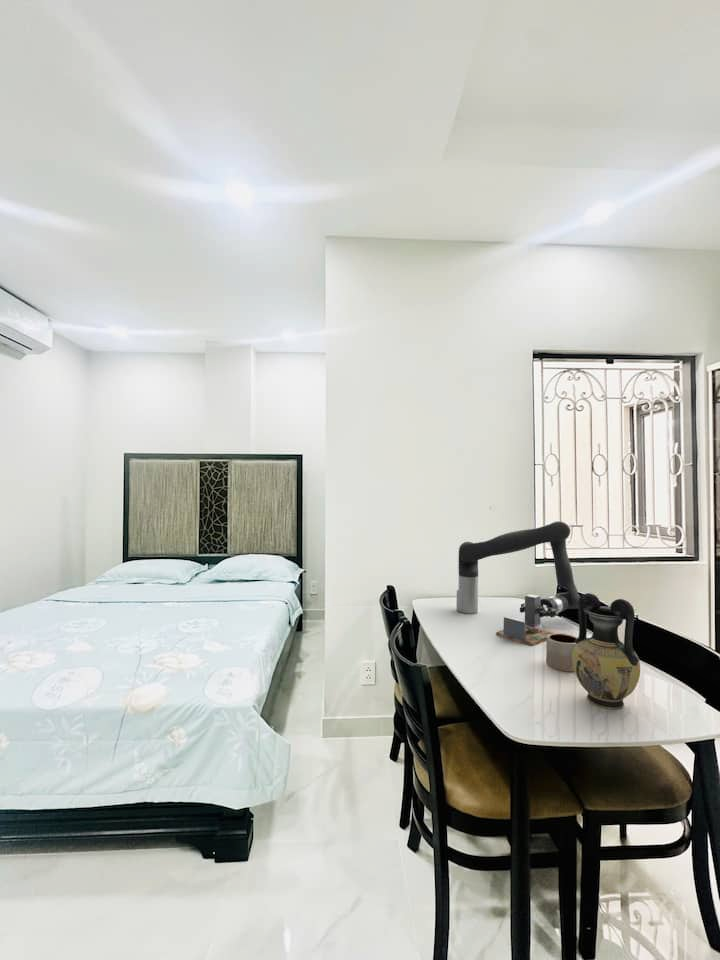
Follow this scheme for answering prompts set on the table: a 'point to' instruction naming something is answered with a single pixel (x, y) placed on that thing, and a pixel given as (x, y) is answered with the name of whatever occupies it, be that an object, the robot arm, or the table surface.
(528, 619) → the block
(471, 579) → the robot arm
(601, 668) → the amphora
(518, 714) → the table surface
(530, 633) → the mottled brown square slab
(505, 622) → the grey rectangular panel
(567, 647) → the planter
